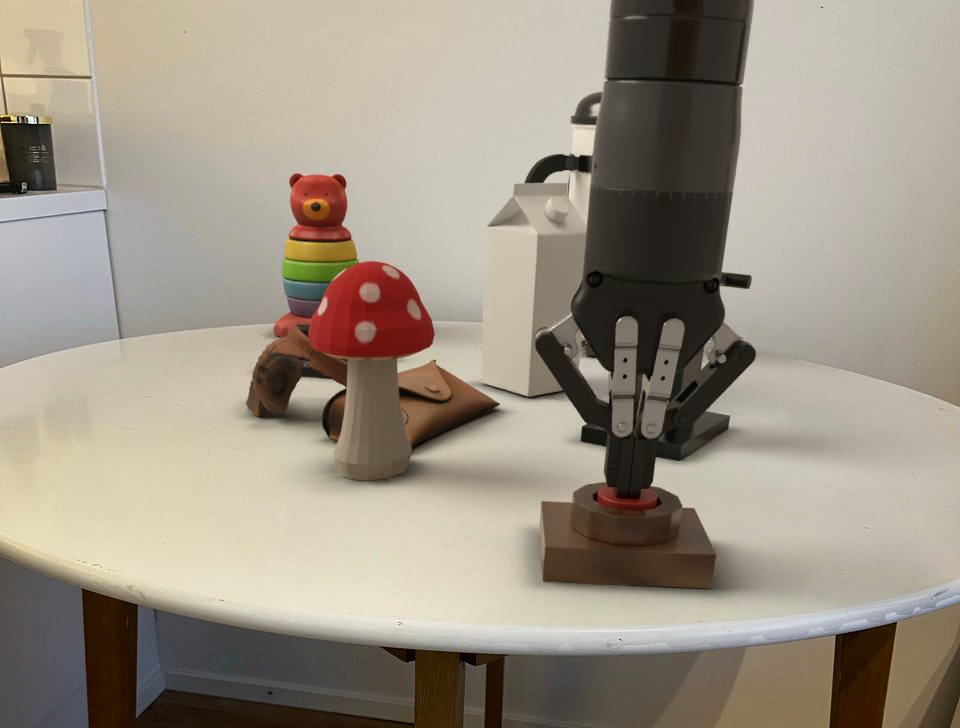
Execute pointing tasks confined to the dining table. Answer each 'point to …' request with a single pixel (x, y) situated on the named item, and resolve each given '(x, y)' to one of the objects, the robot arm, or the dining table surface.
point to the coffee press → (575, 160)
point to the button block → (624, 543)
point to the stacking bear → (314, 246)
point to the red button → (627, 500)
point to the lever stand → (676, 440)
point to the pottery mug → (288, 371)
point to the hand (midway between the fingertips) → (626, 493)
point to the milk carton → (529, 284)
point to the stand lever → (735, 280)
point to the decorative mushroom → (371, 362)
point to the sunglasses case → (422, 403)
